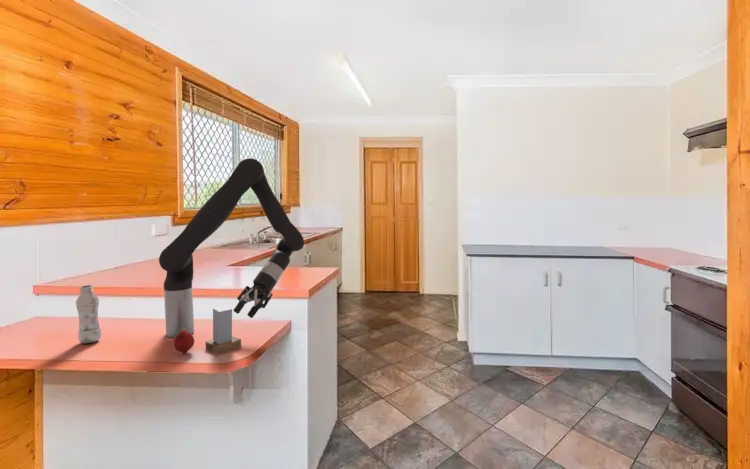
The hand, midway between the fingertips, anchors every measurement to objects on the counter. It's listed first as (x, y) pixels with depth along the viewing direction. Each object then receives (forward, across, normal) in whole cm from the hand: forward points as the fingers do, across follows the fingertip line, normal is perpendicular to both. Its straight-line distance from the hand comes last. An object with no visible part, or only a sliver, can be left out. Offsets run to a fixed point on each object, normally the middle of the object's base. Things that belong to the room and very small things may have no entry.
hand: (242, 314), depth 126 cm
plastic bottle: (+30, -43, -17) cm, 55 cm away
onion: (+19, -6, -6) cm, 21 cm away
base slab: (+12, 0, +2) cm, 13 cm away
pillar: (+10, 0, -1) cm, 10 cm away
